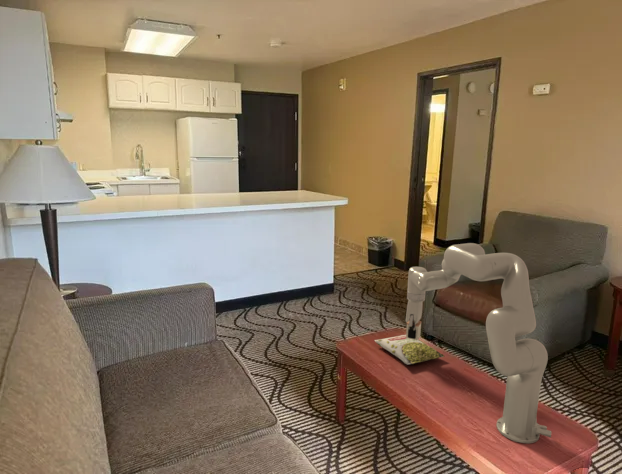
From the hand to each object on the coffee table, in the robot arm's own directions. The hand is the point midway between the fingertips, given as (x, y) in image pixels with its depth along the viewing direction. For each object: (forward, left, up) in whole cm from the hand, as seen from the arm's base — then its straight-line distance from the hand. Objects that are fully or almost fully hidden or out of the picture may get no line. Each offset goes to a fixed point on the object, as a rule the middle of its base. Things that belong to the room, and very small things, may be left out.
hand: (413, 335), depth 183 cm
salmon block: (0, 0, -1) cm, 1 cm away
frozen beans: (+3, -3, -11) cm, 12 cm away
